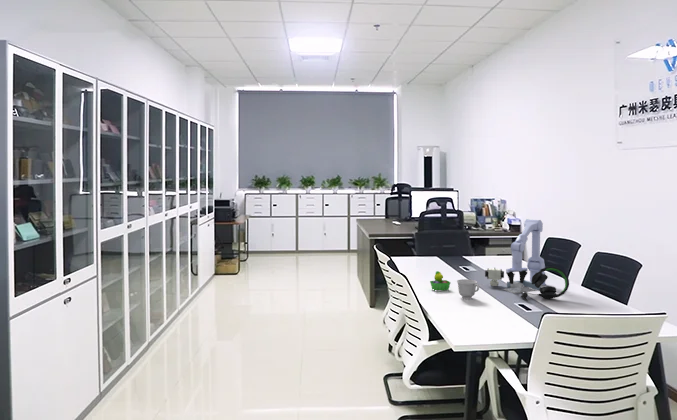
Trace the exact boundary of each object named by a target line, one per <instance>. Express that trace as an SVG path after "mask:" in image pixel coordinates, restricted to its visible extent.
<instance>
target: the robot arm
mask: <svg viewBox="0 0 677 420" xmlns="http://www.w3.org/2000/svg"><path fill="white" fill-rule="evenodd" d="M523 224H524V225H523V227H524V228H523V231H522V233H520V234H519V235H518V236H517V238H516V239H515V241H513V242H512V243H511V244H510V251H511V255H512V257H511V258H512V260H511V268H506V270H505V272H506V273H505V274H506V276H507V278H508V282H510V284H513V281H514V277H515V275H516V272H518V273H519V281H520V283H523V282H524V280H526V279H525V278H526V277H527V275H528V271H529V282H531V281H532V277H533V276H534V274H535V273H538V272H539V271H540V270H541V269H543V268H546V265H545V259H544V258H543V257H541V256H540V255H541V233H542V232H543V224H544V223H543V222H542V220H541V219H529V218H528V219H527V218H526V219H525V220H524V223H523ZM530 234H531V256H530V257H529V258H528V259H527V262H526V266H527V267H523V252H524V251H525V246H526V242H527V241H528V237H529V235H530ZM542 273H543V274H545V275H546V271H544V272H542ZM541 286H547V283H546V281H545V282H544V283H543V284H542V285H541Z"/></svg>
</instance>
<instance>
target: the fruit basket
mask: <svg viewBox="0 0 677 420" xmlns="http://www.w3.org/2000/svg"><path fill="white" fill-rule="evenodd" d="M443 278H444V276H443V274H442V273H441V271H439V270H437V271H435V274H434V280H430V281H429V283H430V286H431V290H433V289H434V290H433V291H435V290H441V291H449V289H450V286H451V281H448V280H447V279H443Z"/></svg>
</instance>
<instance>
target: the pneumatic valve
mask: <svg viewBox="0 0 677 420" xmlns="http://www.w3.org/2000/svg"><path fill="white" fill-rule="evenodd" d="M484 277H485V278H486V279H487V280H490V281H489V285H490V286H492V287H498V286H499V282H500V281H502V279H504V278H505V271H504V270H502V268H496V267H493V268H490V267H489V268H487V269H485V271H484ZM498 280H499V281H498Z"/></svg>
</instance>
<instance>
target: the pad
mask: <svg viewBox="0 0 677 420" xmlns="http://www.w3.org/2000/svg"><path fill="white" fill-rule="evenodd" d="M537 291H538V290H535V289H532V288H529V287H526V286H523V293H524V292H527V293H530V292H537Z"/></svg>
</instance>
